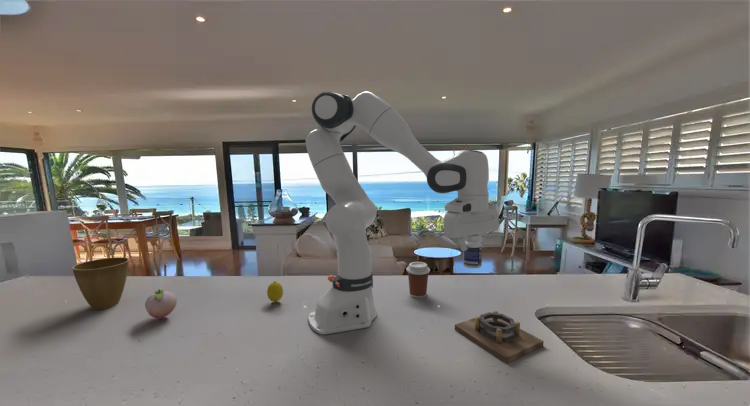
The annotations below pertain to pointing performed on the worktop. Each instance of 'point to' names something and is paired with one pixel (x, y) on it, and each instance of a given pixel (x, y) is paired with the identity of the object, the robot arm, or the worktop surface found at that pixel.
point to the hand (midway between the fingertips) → (472, 248)
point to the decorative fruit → (160, 304)
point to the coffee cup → (418, 279)
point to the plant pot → (102, 281)
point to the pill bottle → (473, 252)
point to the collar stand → (499, 336)
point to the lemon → (275, 291)
